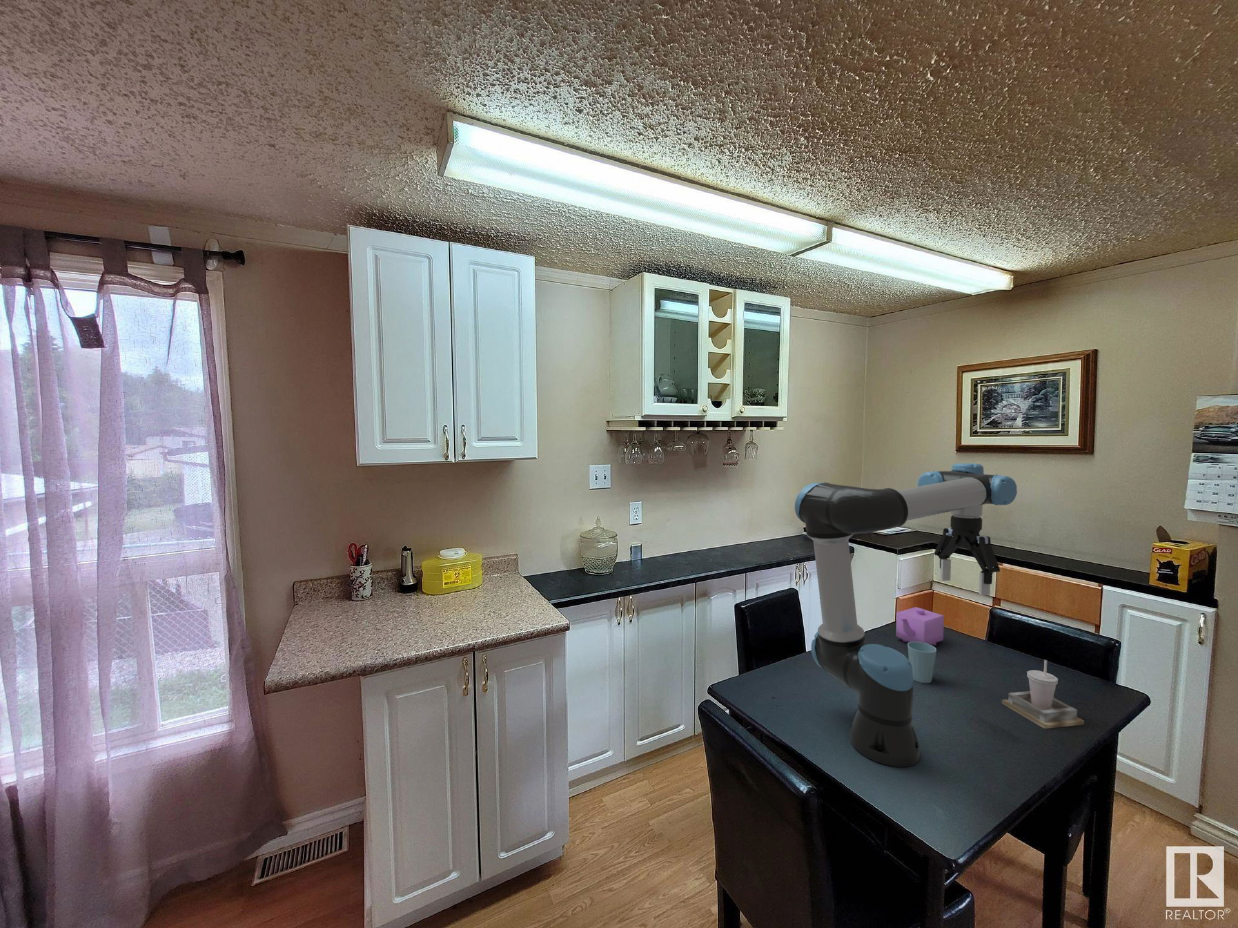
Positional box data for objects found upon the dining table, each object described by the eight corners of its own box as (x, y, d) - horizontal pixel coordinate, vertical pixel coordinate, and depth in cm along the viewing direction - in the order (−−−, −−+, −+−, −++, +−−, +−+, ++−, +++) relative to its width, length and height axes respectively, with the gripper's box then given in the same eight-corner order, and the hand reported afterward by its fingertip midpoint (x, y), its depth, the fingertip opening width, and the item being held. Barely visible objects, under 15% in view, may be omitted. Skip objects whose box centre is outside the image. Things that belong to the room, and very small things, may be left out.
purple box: (919, 632, 186) (920, 601, 185) (947, 642, 177) (948, 609, 176) (886, 643, 177) (887, 610, 176) (913, 654, 168) (914, 619, 167)
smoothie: (1060, 718, 127) (1062, 667, 127) (1029, 712, 130) (1031, 662, 130) (1052, 706, 133) (1054, 657, 132) (1022, 700, 136) (1024, 652, 135)
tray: (1044, 728, 125) (1045, 715, 125) (1001, 703, 137) (1002, 691, 137) (1083, 724, 127) (1084, 711, 126) (1038, 699, 138) (1038, 687, 138)
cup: (941, 681, 149) (942, 649, 148) (925, 687, 146) (926, 654, 145) (917, 671, 156) (918, 639, 155) (901, 676, 153) (902, 644, 152)
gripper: (1018, 523, 129) (1015, 600, 130) (943, 509, 153) (941, 574, 155) (993, 523, 128) (990, 602, 129) (922, 509, 152) (920, 575, 154)
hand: (963, 587), depth 142 cm, fingers open, 13 cm apart
